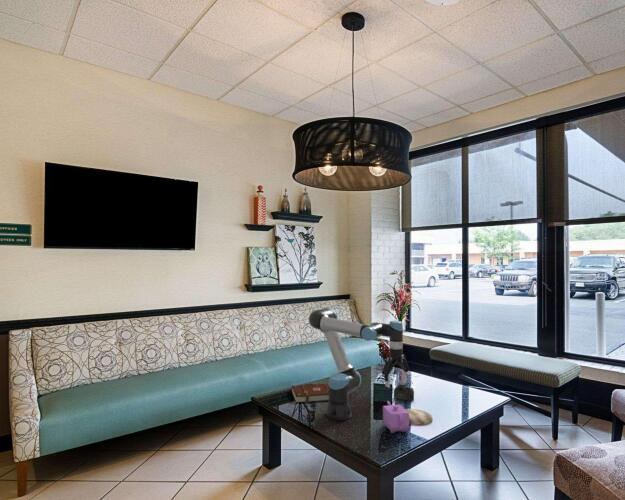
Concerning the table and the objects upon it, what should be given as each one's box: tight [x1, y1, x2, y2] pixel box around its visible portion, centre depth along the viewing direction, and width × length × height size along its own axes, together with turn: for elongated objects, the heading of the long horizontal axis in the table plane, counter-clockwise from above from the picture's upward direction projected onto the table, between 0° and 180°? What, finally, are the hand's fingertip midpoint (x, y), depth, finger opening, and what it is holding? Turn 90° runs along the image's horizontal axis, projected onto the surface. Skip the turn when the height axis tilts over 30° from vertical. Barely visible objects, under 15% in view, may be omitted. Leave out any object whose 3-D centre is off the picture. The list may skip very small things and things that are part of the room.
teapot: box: [382, 400, 410, 434], centre depth 212 cm, size 20×10×12 cm, turn 11°
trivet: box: [404, 408, 433, 426], centre depth 225 cm, size 20×20×1 cm
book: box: [290, 383, 329, 403], centre depth 262 cm, size 23×32×5 cm
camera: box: [393, 382, 415, 402], centre depth 256 cm, size 13×10×10 cm
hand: (396, 384), depth 222 cm, fingers open, 13 cm apart
